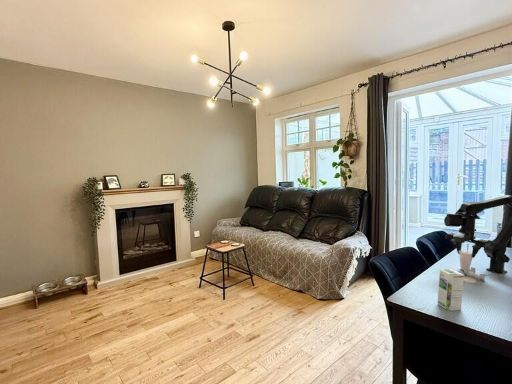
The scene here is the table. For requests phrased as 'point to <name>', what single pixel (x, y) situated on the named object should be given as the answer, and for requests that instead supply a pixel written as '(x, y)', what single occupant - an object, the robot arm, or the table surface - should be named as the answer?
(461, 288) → the syrup box
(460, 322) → the table surface
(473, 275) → the steel rail
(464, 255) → the smoothie
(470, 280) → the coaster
